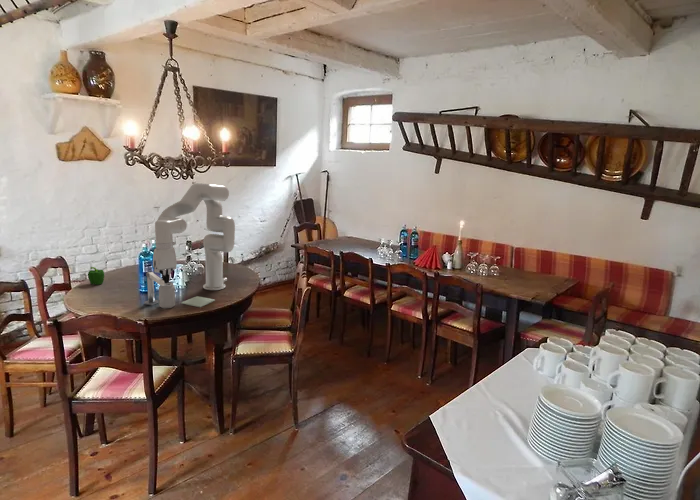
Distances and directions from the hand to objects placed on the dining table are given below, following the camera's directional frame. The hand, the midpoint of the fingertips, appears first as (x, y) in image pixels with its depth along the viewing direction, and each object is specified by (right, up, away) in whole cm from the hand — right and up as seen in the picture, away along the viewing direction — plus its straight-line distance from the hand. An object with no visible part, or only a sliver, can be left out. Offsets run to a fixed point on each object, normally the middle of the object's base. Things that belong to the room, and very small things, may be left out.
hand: (166, 282), depth 220 cm
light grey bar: (-7, +1, +3) cm, 7 cm away
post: (-12, -12, +12) cm, 21 cm away
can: (-3, -13, +9) cm, 16 cm away
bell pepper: (-56, -4, +40) cm, 69 cm away
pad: (+10, -12, +18) cm, 23 cm away
